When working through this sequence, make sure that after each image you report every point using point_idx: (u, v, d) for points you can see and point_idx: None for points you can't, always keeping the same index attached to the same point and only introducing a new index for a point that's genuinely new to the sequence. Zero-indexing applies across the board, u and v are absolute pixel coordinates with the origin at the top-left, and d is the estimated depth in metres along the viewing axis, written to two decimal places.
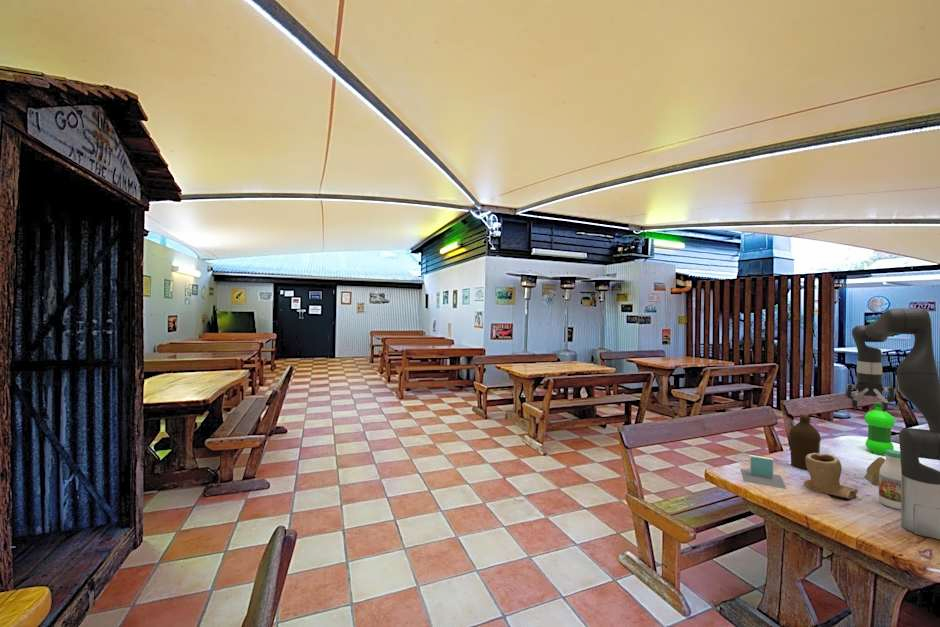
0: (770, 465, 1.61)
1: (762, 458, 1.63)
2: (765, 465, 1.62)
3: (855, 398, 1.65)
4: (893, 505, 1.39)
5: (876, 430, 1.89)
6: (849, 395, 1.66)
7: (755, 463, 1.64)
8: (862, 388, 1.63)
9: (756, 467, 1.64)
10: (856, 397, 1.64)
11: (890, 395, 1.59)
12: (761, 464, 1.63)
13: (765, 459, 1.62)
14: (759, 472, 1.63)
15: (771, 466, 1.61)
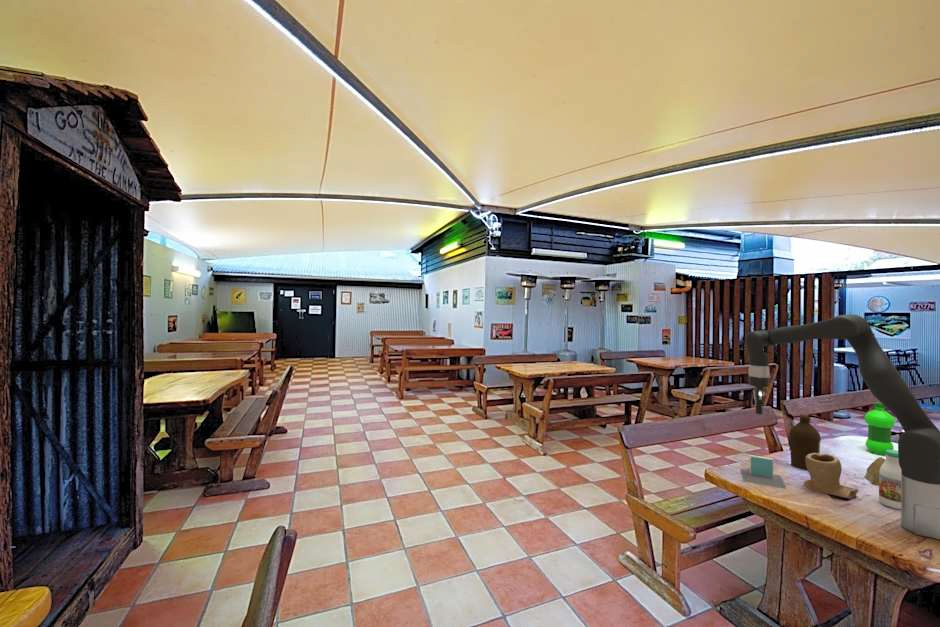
0: (770, 465, 1.61)
1: (762, 458, 1.63)
2: (765, 465, 1.62)
3: (755, 402, 1.72)
4: (893, 505, 1.39)
5: (876, 430, 1.89)
6: None
7: (755, 463, 1.64)
8: None
9: (756, 467, 1.64)
10: (755, 401, 1.72)
11: None
12: (761, 464, 1.63)
13: (765, 459, 1.62)
14: (759, 472, 1.63)
15: (771, 466, 1.61)
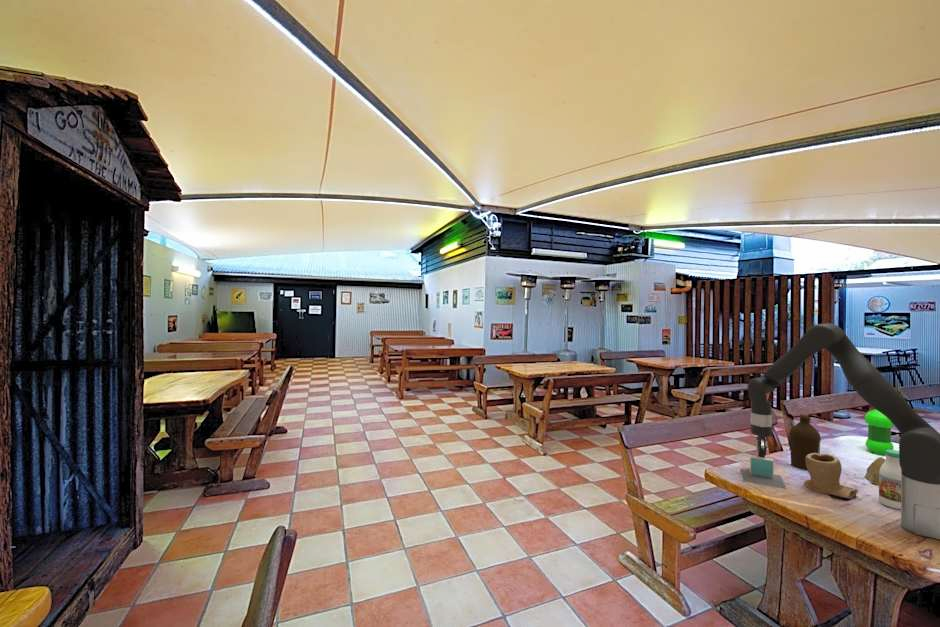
0: (770, 466, 1.61)
1: (762, 459, 1.62)
2: (765, 466, 1.62)
3: (757, 451, 1.67)
4: (893, 505, 1.39)
5: (876, 430, 1.89)
6: None
7: (755, 464, 1.64)
8: None
9: (756, 468, 1.64)
10: (757, 450, 1.67)
11: None
12: (761, 465, 1.62)
13: (765, 460, 1.62)
14: (759, 472, 1.63)
15: (771, 467, 1.61)
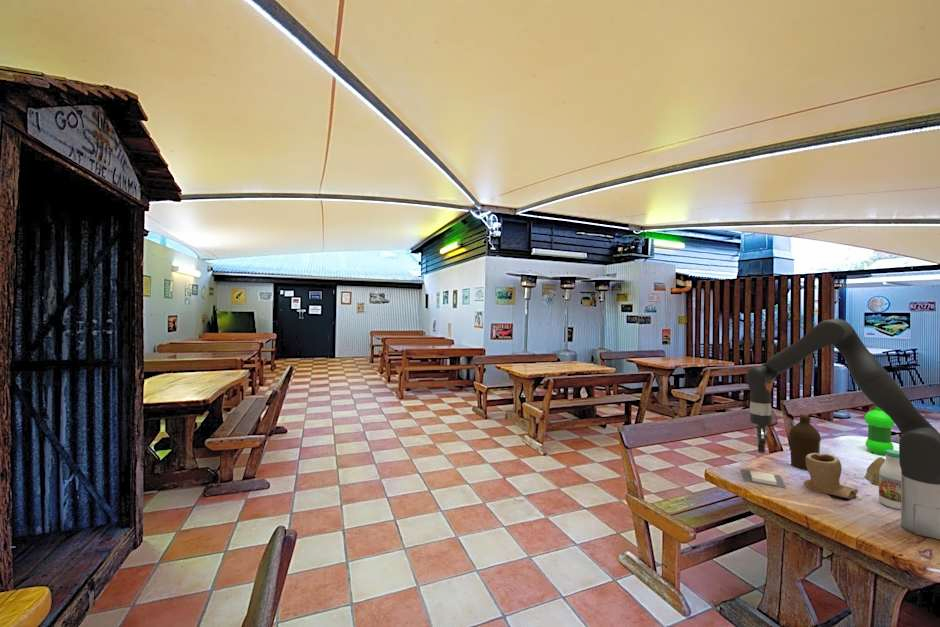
0: None
1: (765, 482, 1.56)
2: None
3: (757, 440, 1.67)
4: (893, 505, 1.39)
5: (876, 430, 1.89)
6: None
7: None
8: None
9: None
10: (757, 439, 1.67)
11: None
12: None
13: (768, 483, 1.56)
14: None
15: None
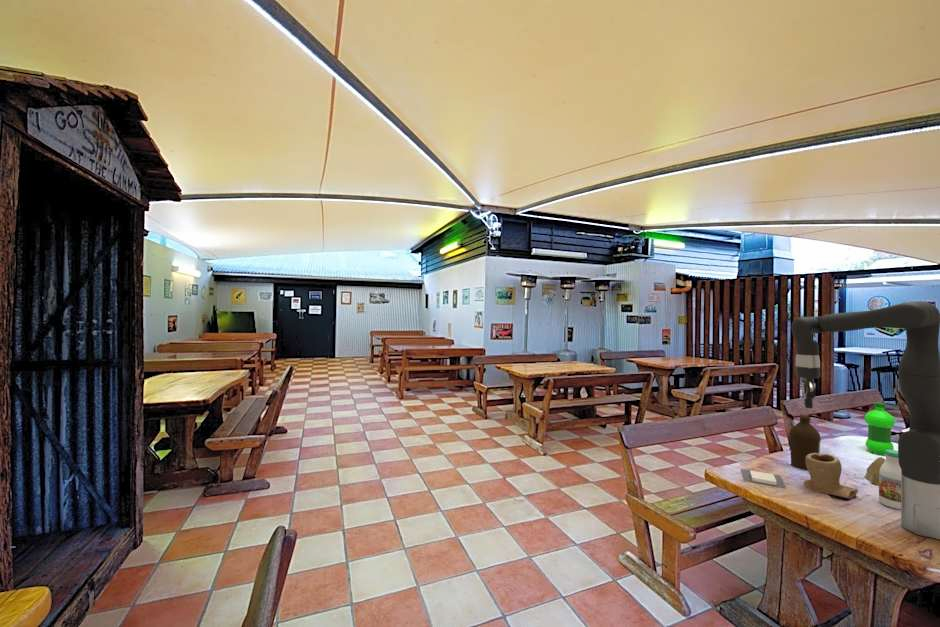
0: None
1: (765, 482, 1.56)
2: None
3: (804, 396, 1.57)
4: (893, 505, 1.39)
5: (876, 430, 1.89)
6: (802, 392, 1.59)
7: None
8: None
9: None
10: (803, 394, 1.58)
11: None
12: None
13: (768, 483, 1.56)
14: None
15: None
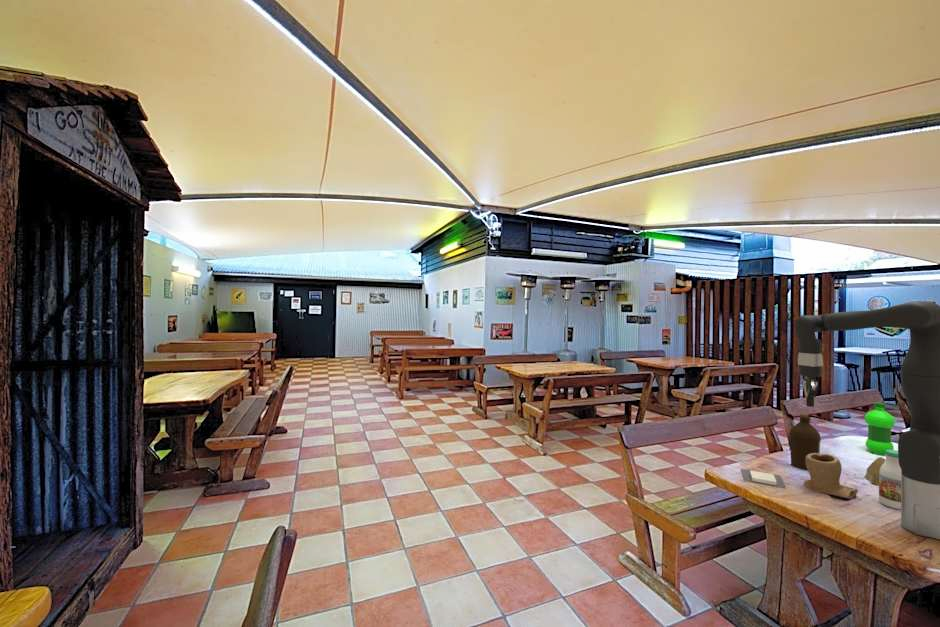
0: None
1: (765, 482, 1.56)
2: None
3: (805, 394, 1.57)
4: (893, 505, 1.39)
5: (876, 430, 1.89)
6: (804, 390, 1.59)
7: None
8: None
9: None
10: (805, 392, 1.57)
11: None
12: None
13: (768, 483, 1.56)
14: None
15: None
